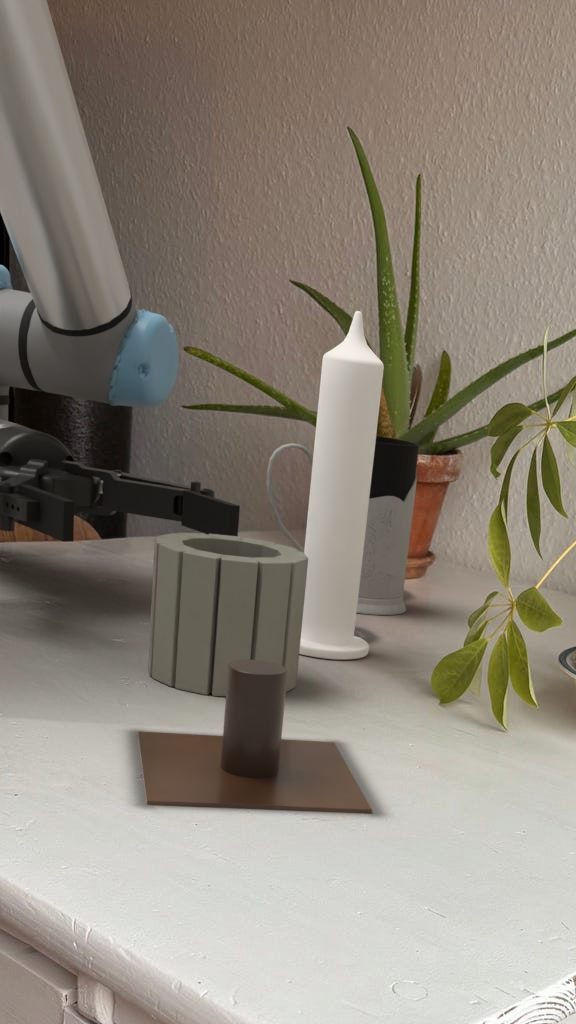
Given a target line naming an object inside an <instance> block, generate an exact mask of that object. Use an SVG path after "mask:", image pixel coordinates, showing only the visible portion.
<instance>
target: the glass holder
mask: <svg viewBox="0 0 576 1024" xmlns="http://www.w3.org/2000/svg"><path fill="white" fill-rule="evenodd" d="M287 449H298V450H301V451H302V452H303V453H304V454H305V455H306V456H307V458H308V460H309V462H310V466H311V467H312V465H313V454H312V452H311V451H310V450H309V449H308V448H307V447H306V446H304V445H302V444H298V443H285V444H283V445H281V446H279V447H278V448H276V449H275V450H274V451H273V453H272V454H271V456H270V457H269V461H268V465H267V469H266V491H267V497H268V503H269V507H270V509H271V512H272V515H273V518H274V520H275V523H276V525H277V526H278V529H280V531H281V532H282V534H283V535H284V536H285V537H286V538H287V539H288V540H289V542H291V544H292V545H293V546H294V547H295V549H297V550H300V551H301V552H303V553H304V547H302V546H301V545H300V543H298V541H297V540H296V539H295V538H294V537H293V536H292V535H291V533H290V532H289V530H288V529H287V527H285V525H284V523H283V521H282V519H281V517H280V515H279V512H278V509H277V505H276V503H275V499H274V493H273V469H274V463H275V460H276V458H277V457H278V455H279V454H280V453H281V452H283V451H284V450H287ZM419 449H420V444H418V443H414V442H412V441H408V440H403V439H399V438H392V437H388V436H387V437H386V436H380V435H376V442H375V451H374V460H373V469H372V478H371V487H370V496H369V504H368V513H367V522H366V531H365V540H364V549H363V558H362V567H361V576H360V585H359V594H358V603H357V612H356V614H362V615H374V616H395V615H401V614H404V613H406V611H407V608H406V604H405V602H404V590H405V589H404V588H405V581H406V572H407V564H408V557H409V549H410V539H411V533H412V525H413V517H414V516H413V515H414V507H415V498H416V491H417V483H418V472H417V467H418V459H419Z"/></svg>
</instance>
